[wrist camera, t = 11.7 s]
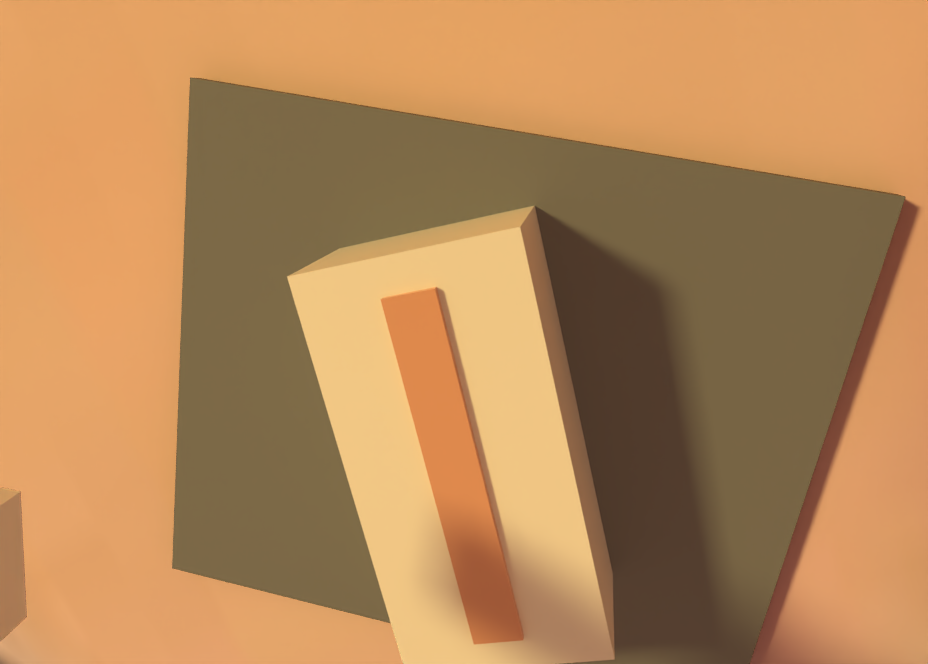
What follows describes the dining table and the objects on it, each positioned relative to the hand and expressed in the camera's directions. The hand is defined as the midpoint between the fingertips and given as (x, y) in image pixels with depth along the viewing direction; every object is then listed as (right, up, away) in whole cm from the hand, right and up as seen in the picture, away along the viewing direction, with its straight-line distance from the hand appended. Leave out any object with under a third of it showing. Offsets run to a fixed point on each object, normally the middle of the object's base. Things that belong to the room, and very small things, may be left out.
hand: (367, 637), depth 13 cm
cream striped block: (+2, +3, +10) cm, 11 cm away
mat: (+2, +3, +11) cm, 12 cm away
